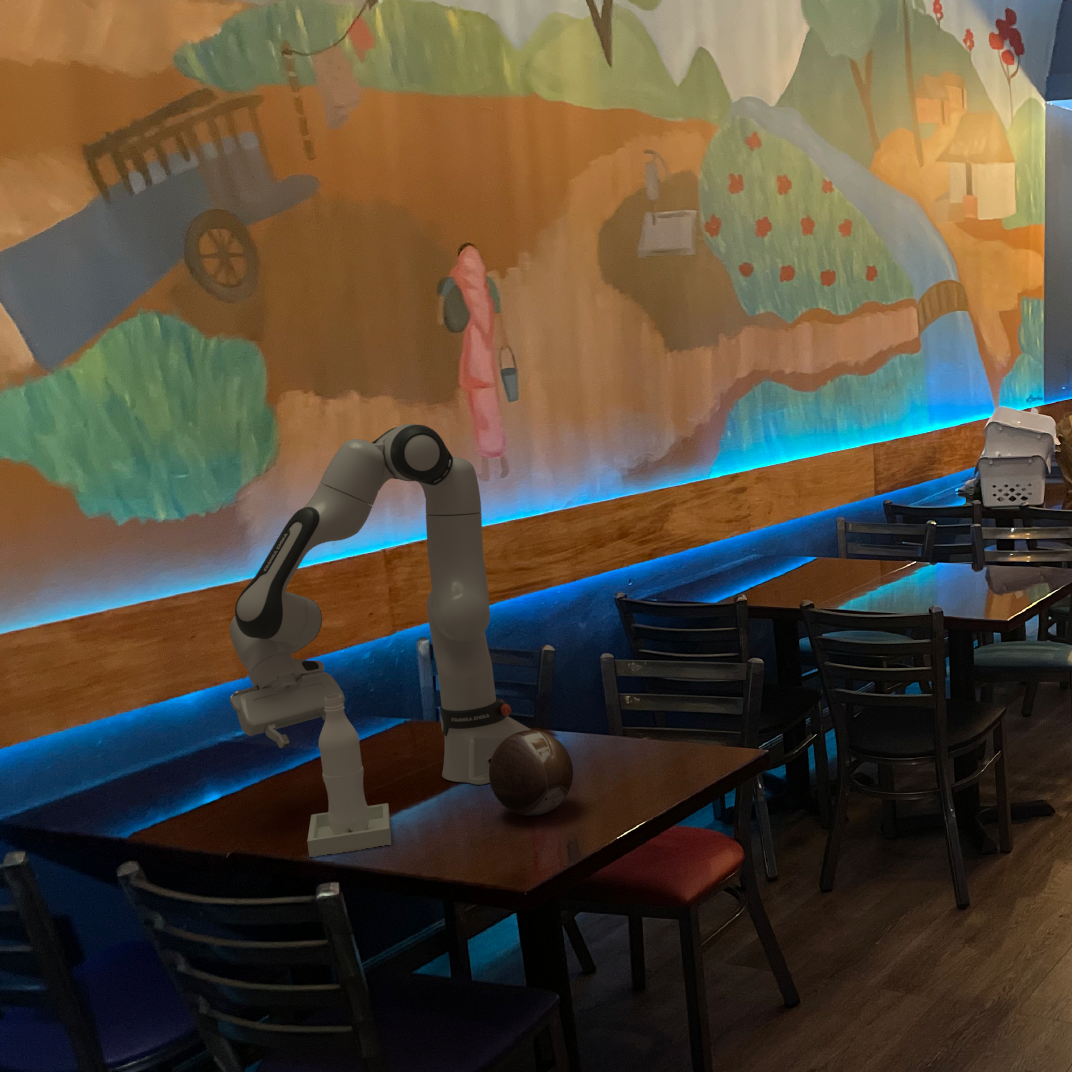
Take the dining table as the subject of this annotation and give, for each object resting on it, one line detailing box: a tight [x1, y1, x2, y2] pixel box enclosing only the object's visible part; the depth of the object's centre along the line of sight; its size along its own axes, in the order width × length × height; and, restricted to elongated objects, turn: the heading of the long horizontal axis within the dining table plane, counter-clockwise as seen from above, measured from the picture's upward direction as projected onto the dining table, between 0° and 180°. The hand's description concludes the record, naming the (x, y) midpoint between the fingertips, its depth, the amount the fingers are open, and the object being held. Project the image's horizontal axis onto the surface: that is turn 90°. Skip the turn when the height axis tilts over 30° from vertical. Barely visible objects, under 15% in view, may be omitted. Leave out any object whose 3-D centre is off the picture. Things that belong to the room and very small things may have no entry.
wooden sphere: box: [489, 729, 574, 817], centre depth 216 cm, size 15×15×15 cm
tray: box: [306, 802, 392, 858], centre depth 214 cm, size 14×14×3 cm
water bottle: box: [318, 694, 370, 835], centre depth 213 cm, size 7×7×25 cm
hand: (308, 738), depth 222 cm, fingers open, 8 cm apart
